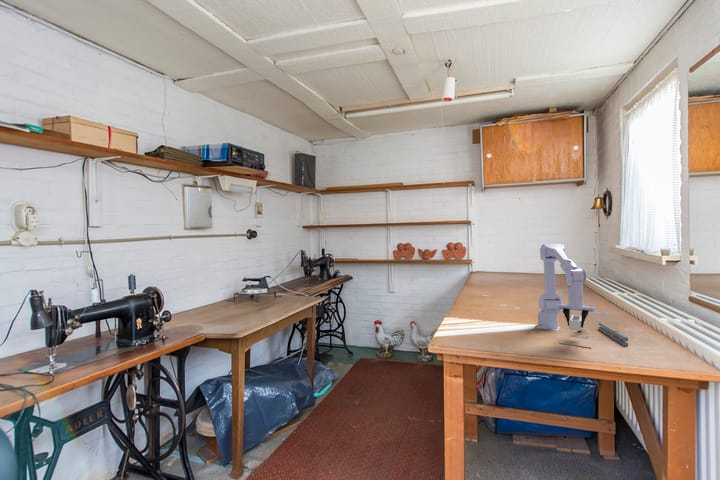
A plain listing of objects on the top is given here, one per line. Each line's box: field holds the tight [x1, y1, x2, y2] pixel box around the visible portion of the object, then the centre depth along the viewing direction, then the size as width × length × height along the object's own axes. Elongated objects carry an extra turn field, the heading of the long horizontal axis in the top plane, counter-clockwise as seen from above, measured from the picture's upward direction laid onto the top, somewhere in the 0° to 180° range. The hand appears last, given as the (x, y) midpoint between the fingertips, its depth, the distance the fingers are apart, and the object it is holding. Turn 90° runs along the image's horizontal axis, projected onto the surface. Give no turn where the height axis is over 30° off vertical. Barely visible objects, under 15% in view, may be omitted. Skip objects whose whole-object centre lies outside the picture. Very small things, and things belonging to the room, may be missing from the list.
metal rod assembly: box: [597, 321, 629, 347], centre depth 170 cm, size 26×3×5 cm, turn 168°
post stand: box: [567, 328, 591, 340], centre depth 176 cm, size 8×16×6 cm, turn 144°
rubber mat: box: [558, 342, 592, 350], centre depth 164 cm, size 12×12×1 cm
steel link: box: [568, 314, 583, 331], centre depth 164 cm, size 4×12×4 cm, turn 145°
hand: (575, 326), depth 162 cm, fingers closed on steel link, 4 cm apart
